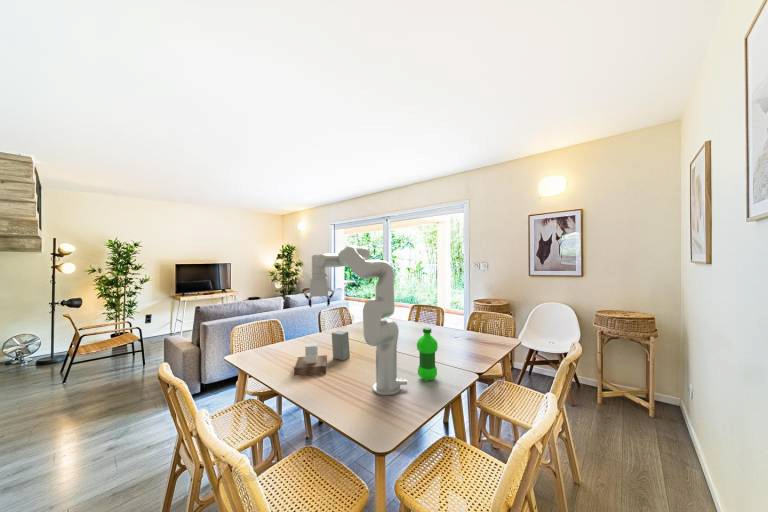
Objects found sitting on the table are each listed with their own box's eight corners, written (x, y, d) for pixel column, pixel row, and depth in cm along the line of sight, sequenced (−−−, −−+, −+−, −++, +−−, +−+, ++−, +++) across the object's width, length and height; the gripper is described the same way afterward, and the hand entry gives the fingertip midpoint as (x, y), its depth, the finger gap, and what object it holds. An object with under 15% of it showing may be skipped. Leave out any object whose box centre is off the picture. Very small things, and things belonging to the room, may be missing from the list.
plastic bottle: (424, 385, 133) (424, 332, 133) (413, 376, 142) (412, 327, 142) (442, 381, 137) (441, 329, 137) (429, 372, 146) (429, 325, 146)
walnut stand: (327, 362, 163) (326, 355, 163) (326, 373, 147) (326, 365, 147) (298, 364, 160) (298, 357, 160) (294, 375, 144) (294, 368, 144)
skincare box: (350, 357, 170) (349, 331, 170) (342, 361, 164) (342, 334, 164) (339, 355, 174) (339, 329, 174) (331, 358, 168) (331, 332, 168)
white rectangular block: (317, 358, 157) (317, 342, 157) (317, 362, 151) (316, 346, 151) (306, 359, 156) (306, 343, 156) (305, 363, 150) (305, 346, 150)
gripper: (334, 275, 165) (334, 304, 165) (303, 276, 162) (304, 306, 161) (334, 276, 158) (335, 306, 157) (302, 277, 154) (303, 308, 154)
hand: (319, 306), depth 159 cm, fingers open, 9 cm apart
